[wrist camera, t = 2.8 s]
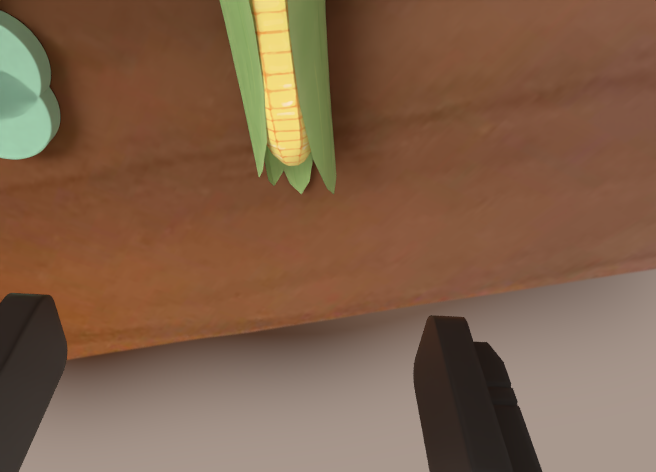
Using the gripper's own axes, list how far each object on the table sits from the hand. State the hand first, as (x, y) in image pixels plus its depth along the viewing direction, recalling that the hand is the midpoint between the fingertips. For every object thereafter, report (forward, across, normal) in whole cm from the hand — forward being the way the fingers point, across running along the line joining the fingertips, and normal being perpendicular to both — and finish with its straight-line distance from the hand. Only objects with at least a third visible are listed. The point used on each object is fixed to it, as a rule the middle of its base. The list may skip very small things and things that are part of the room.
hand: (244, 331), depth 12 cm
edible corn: (+21, 0, 0) cm, 21 cm away
